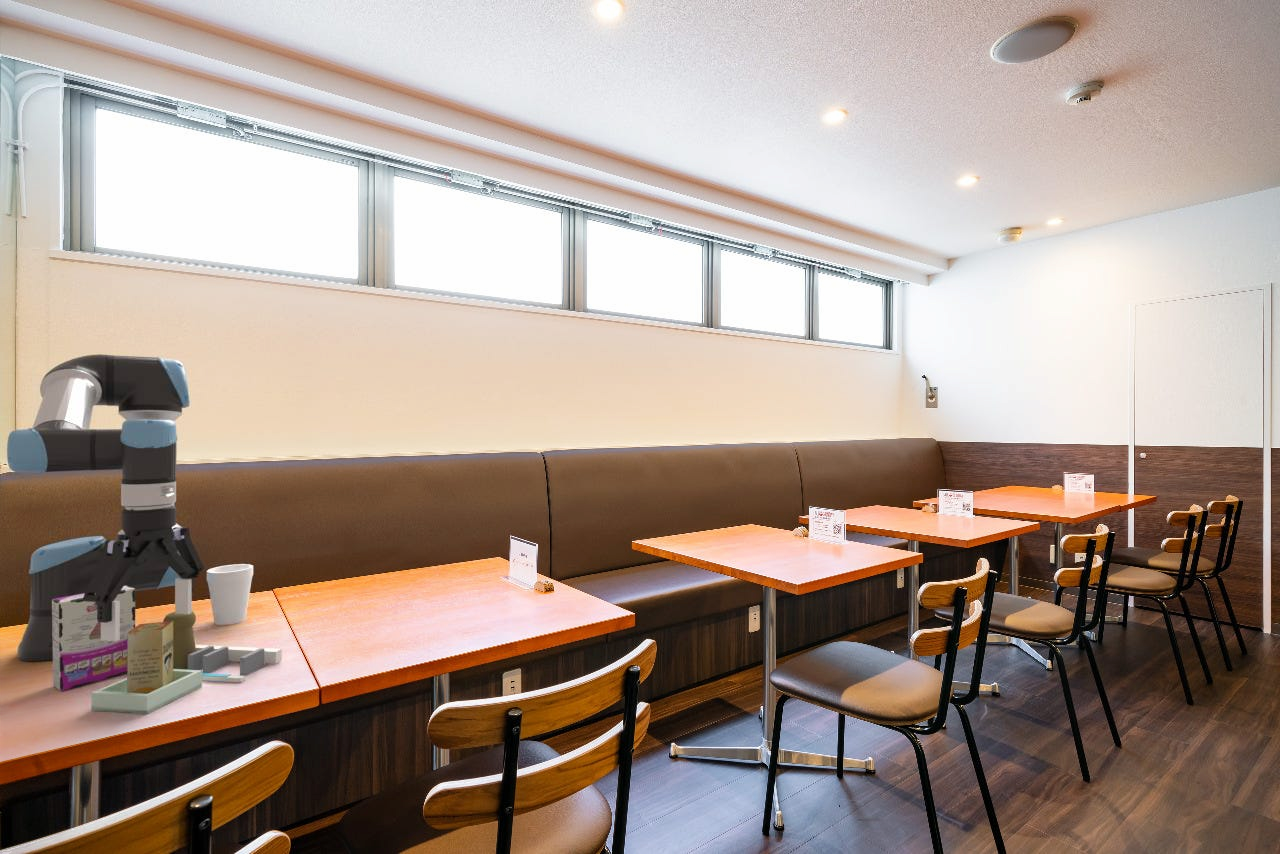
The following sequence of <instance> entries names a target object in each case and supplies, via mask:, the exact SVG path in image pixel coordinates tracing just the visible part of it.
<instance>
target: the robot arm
mask: <svg viewBox="0 0 1280 854" xmlns="http://www.w3.org/2000/svg"><path fill="white" fill-rule="evenodd" d="M39 393H40V396H41V398H42V400H41V402H40V406H39V409H38V411H37V414H36V416H35V419H34V422H33V423H32V424H33V425H32V427H31V428H30V427H29V428H25V429H23V428H22V429H15V430H14V429H13V430H12V431H11V432H10V433H9V435H8V437H7V445H6V460H7V464H8V467H9V469H10V470H11V471H12V472H15V473H36V474H44V473H62V472H65V473H66V472H87V471H88V472H89V471H91V472H92V471H121V484H120V486H121V490H120V491H121V492H120V493H121V495H120V506H122V507H125V508H123V509H122V511H121V512H120V513H121V514H120V521H121V522H120V524H121V525H120V527H121V530H120V531H118V533H117V540H111V539H108V540H107V539H106V538H105V537H104V536H103V535H95V536H93V535H92V536H85V537H78V538H72V539H68V540H67V539H66V540H63V541H58V542H55V543H49V544H46V545H44V546H41V547H39V548H37V549H36V550H35V551H34V552H33V553H32V554H31V557H30V567H29V571H28V574H30V578H29V579H30V584H29V585H30V589H29V591H30V593H29V594H30V596H29V597H30V599H29V603H30V604H29V621H28V622H27V625H26V627H25V630H24V633H23V635H22V638H21V641H20V643H18V647H17V659H18V660H21V661H25V662H41V661H53V636H52V599H56V598H62V597H67V596H72V595H78V594H83V593H85V594H84V597H83V600H84V601H87V602H96V603H97V620H98V622H101V640H104V641H117V640H120V601H116V600H115V598H116V597H117V595H118V594H119V592H120V591H121V589H122V588H123V586H129V587H132V588H135V592H137V591H145V590H153V589H156V590H159V589H160V588H166V587H171V586H172V587H173V586H174V590H175V591H174V612H175V614H190V613H191V611H192V601H193V600H192V599H193V598H192V596H193V595H194V586H195V584H194V583H195V582H194V579H197V578H199V577H200V573H202V572H204V570H205V566H204V564H203V562H202V560H201V558H200V556H199V554H198V552H197V550H196V548H195V546H194V543H193V541H192V539H191V535H190V534H191V533H190V529H189V527H187V526H181V525H180V524H178V523H177V507H176V506H175V503H176V502H177V476H176V475H177V441H178V434H177V424H176V422H175V421H176V420H177V419H179V418H180V417H181V416H182V415H183V408H184V409H185V408H188V407H190V396H189V385H188V381H187V376H186V372H185V367H184V365H183V363H182V362H181V361H179V360H176V359H173V358H163V357H159V356H154V357H153V356H151V357H150V356H133V355H130V356H129V355H115V354H114V355H111V354H100V353H99V354H88V355H83V356H79V357H74V358H72V359H69V360H65V361H64V362H62V363H60V364H58V365H56V366H54V367H53V368H51V369H50V370H49V371H48V372H47V373H46V374H45V375H44V376H43V377H42V380H41V382H40V386H39ZM94 406H107V407H108V406H109V407H112V406H113V407H118V415H119V416H121V417H122V418H123V419H124V420H125V421H123V422H122V424H121V428H120V429H119V428H118V429H115V428H113V429H112V428H111V429H109V428H108V429H107V428H106V429H102V428H101V429H100V428H99V429H94V428H93V429H90V426H91V422H92V421H91V420H92V415H93V409H94ZM107 594H108V595H107Z"/></svg>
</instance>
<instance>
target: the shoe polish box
mask: <svg viewBox="0 0 1280 854" xmlns="http://www.w3.org/2000/svg"><path fill="white" fill-rule="evenodd" d="M126 674H127V675H126V676H127V677H126V678H127V693H141V694H148V693H150V692H153V691H155V690H157V689H159V688H161V687H163V686H165V685H168V684H170V683H172V682H173V621H166V622H163V621H160V622H159V621H158V622H148V623H147V622H146V623H139V624H138V625H137V626H136V625H135V628H133V629H132V630H131V631H129V632H128V633H127V673H126Z"/></svg>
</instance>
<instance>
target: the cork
mask: <svg viewBox="0 0 1280 854" xmlns="http://www.w3.org/2000/svg"><path fill="white" fill-rule="evenodd" d="M162 620H163V621H162V622H166V621H173V669H183V670H188V655H189V654H191V653H194V652H196V646H195V645H196V641H195V635H194V628H193V626H194V625H195V623H196V620H197V616H196V613H194V611H192V610H191V613H190V614H175V611H173V612H170V613H168V614H166V615H165V617H164V618H163V619H162Z"/></svg>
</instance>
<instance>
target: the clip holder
mask: <svg viewBox="0 0 1280 854" xmlns="http://www.w3.org/2000/svg"><path fill="white" fill-rule="evenodd" d="M195 646H196V652H194V653H191V654H189V655H188V670H202V681H211V682H212V681H213V682H229V683H230V682H231V683H242V682H244V681H246V677H247V676H248V675H250V674H251V673H253V672H255V671H257V670H260V669H261V668H263V667H265V664H270V665H271V664H272V665H273V664H274V665H277V664H278V663H279V662H282V658H283V657H282V656H283V654H282V652H283V651H282V650H283V649H282V648H271V647H269V648H268V647H264V648H263V647H249V646H248V647H247V646H229V645H228V646H227V645H226V646H225V645H211V644H209V645H207V644H195ZM229 662H237V663H239V675H237V674H235V675H233V674H231V673H230V674H229V673H228V674H227V673H213V672H214V671H216V670H218V669H221V668H223V667H225V666H227V665H229Z"/></svg>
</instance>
